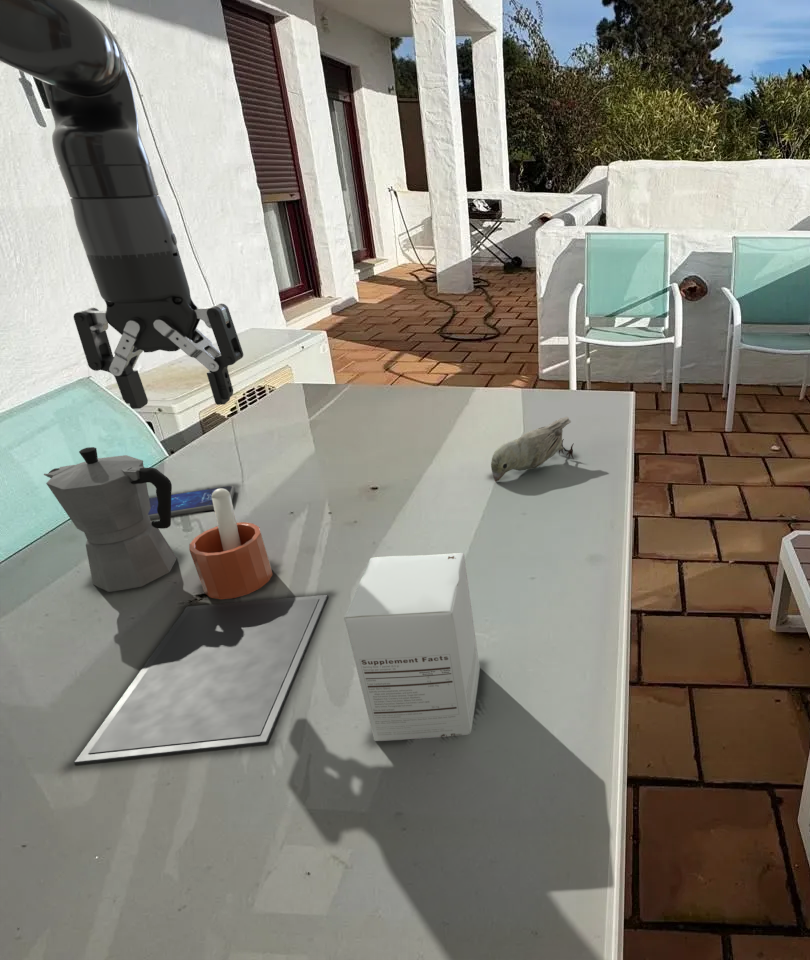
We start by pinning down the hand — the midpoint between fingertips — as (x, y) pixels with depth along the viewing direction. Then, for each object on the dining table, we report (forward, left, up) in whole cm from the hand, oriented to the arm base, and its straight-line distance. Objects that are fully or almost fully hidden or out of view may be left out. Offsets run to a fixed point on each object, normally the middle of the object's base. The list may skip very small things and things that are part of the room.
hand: (182, 404), depth 69 cm
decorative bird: (+38, +29, -24) cm, 54 cm away
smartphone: (-17, +23, -24) cm, 37 cm away
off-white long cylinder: (0, 0, -24) cm, 24 cm away
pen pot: (0, 0, -24) cm, 24 cm away
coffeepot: (-13, +4, -24) cm, 28 cm away
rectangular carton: (+26, -24, -24) cm, 43 cm away
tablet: (+4, -16, -24) cm, 29 cm away
